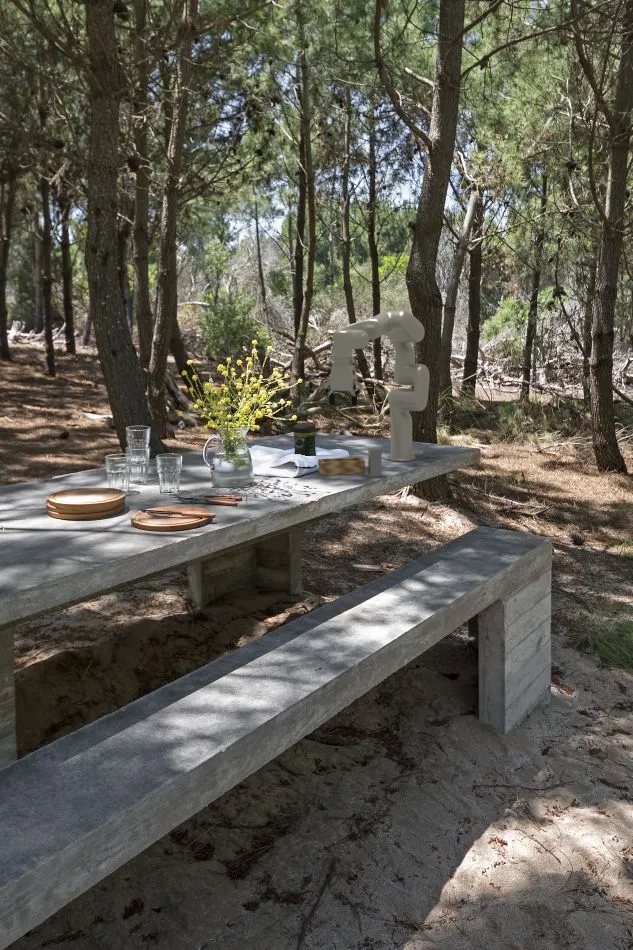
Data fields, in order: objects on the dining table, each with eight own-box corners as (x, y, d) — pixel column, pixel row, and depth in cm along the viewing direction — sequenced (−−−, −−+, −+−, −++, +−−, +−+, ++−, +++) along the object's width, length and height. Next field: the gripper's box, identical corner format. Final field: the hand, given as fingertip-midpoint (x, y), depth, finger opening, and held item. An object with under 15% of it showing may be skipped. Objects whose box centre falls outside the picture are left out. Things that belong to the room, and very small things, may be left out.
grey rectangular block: (379, 474, 329) (379, 447, 327) (381, 476, 325) (381, 449, 323) (368, 475, 329) (368, 448, 326) (370, 477, 324) (370, 450, 322)
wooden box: (360, 469, 341) (360, 457, 340) (365, 473, 331) (365, 461, 330) (318, 471, 338) (318, 458, 337) (321, 475, 329) (321, 462, 328)
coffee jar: (320, 466, 350) (319, 423, 346) (307, 469, 344) (306, 425, 340) (303, 464, 356) (302, 421, 352) (291, 466, 350) (289, 424, 347)
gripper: (366, 362, 320) (366, 405, 323) (328, 361, 328) (328, 403, 331) (358, 363, 313) (358, 407, 317) (319, 362, 322) (319, 405, 325)
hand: (343, 405), depth 324 cm, fingers open, 9 cm apart
